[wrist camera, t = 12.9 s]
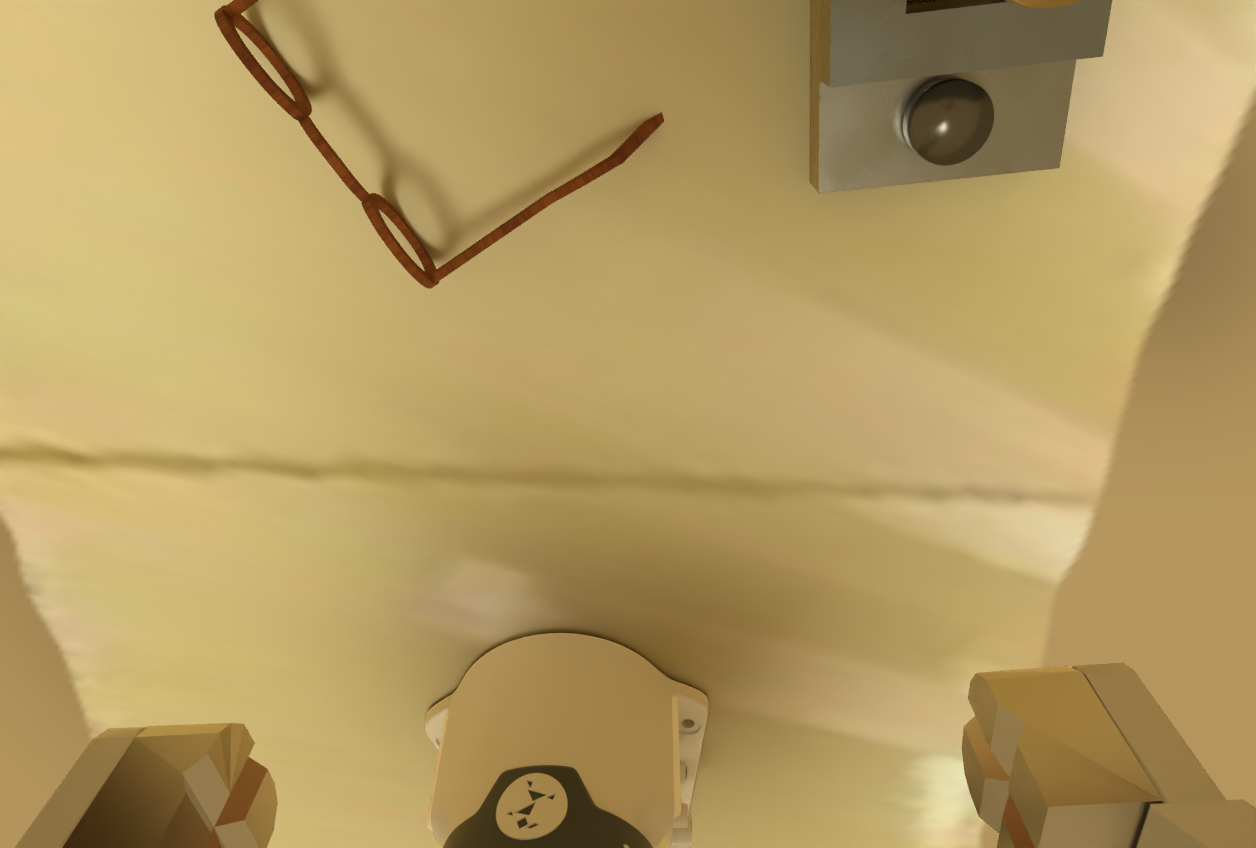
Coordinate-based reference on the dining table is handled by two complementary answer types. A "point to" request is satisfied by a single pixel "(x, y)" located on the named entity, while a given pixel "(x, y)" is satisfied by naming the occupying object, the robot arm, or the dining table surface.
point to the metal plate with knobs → (942, 88)
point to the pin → (1042, 3)
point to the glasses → (373, 202)
